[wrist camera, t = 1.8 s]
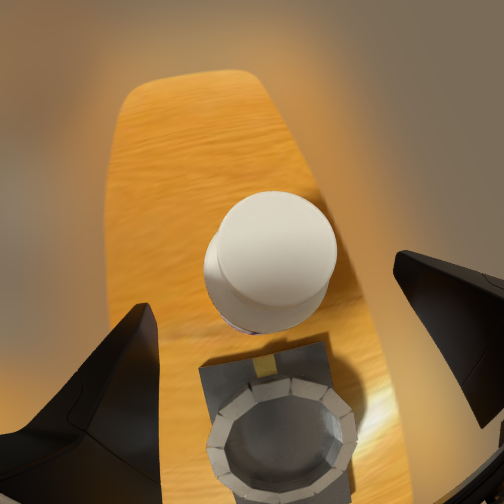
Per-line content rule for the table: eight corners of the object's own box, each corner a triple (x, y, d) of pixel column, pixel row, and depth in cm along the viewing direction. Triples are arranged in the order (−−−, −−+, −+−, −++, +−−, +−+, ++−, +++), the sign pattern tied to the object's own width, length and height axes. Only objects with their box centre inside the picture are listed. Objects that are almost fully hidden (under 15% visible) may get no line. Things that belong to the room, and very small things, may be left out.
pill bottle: (288, 251, 19) (335, 170, 10) (302, 328, 17) (373, 312, 8) (210, 260, 18) (189, 180, 9) (220, 340, 17) (202, 341, 8)
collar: (354, 469, 13) (362, 477, 12) (228, 502, 12) (228, 513, 11) (330, 338, 16) (339, 338, 15) (190, 369, 15) (186, 371, 14)
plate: (347, 498, 13) (351, 502, 12) (246, 524, 12) (246, 530, 11) (319, 340, 17) (323, 340, 16) (199, 366, 16) (198, 368, 15)
